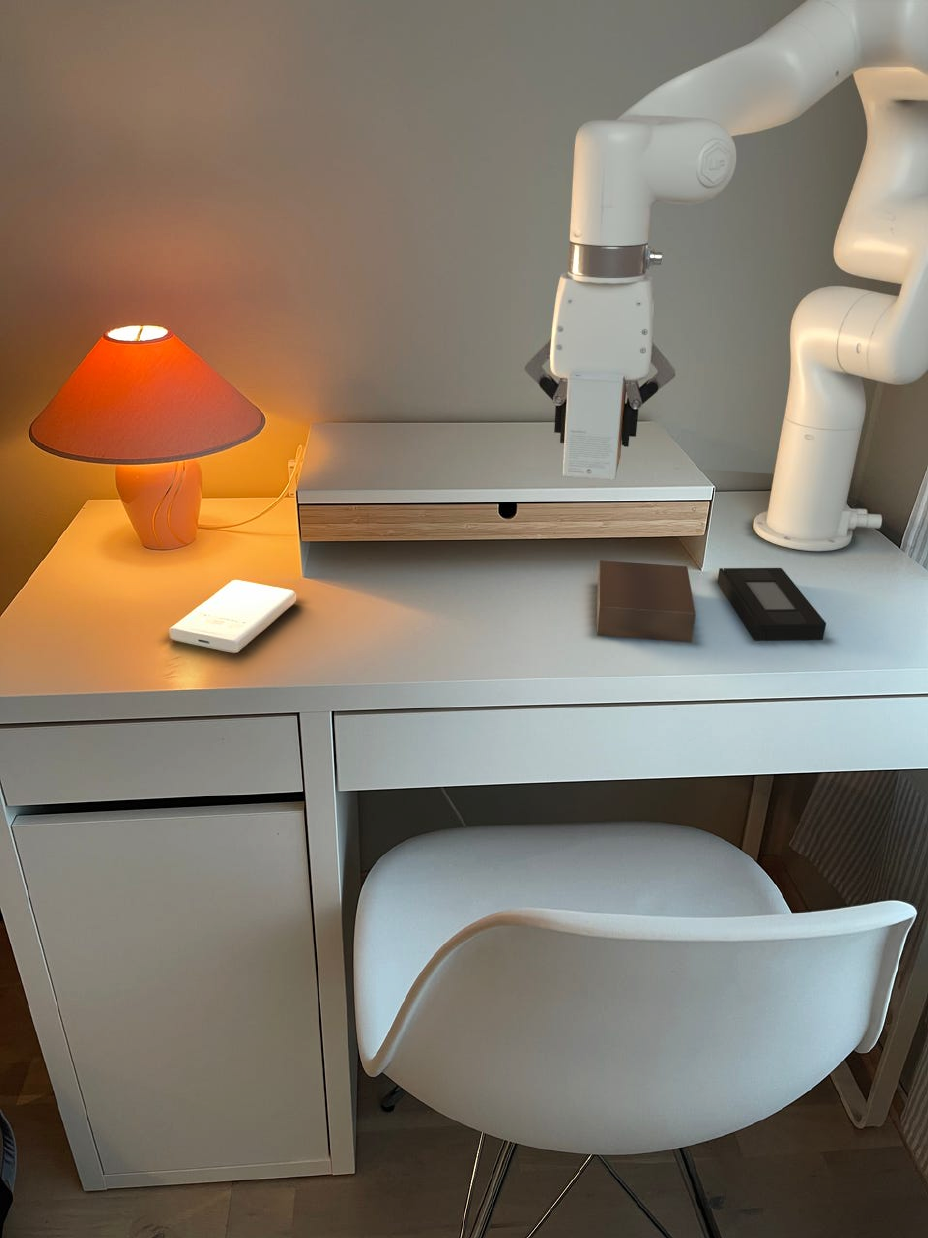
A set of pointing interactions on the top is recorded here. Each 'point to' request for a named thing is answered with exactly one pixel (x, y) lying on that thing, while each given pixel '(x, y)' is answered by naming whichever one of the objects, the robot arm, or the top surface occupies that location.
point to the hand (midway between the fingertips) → (594, 439)
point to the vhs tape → (770, 604)
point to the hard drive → (233, 616)
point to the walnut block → (645, 601)
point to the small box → (594, 425)
